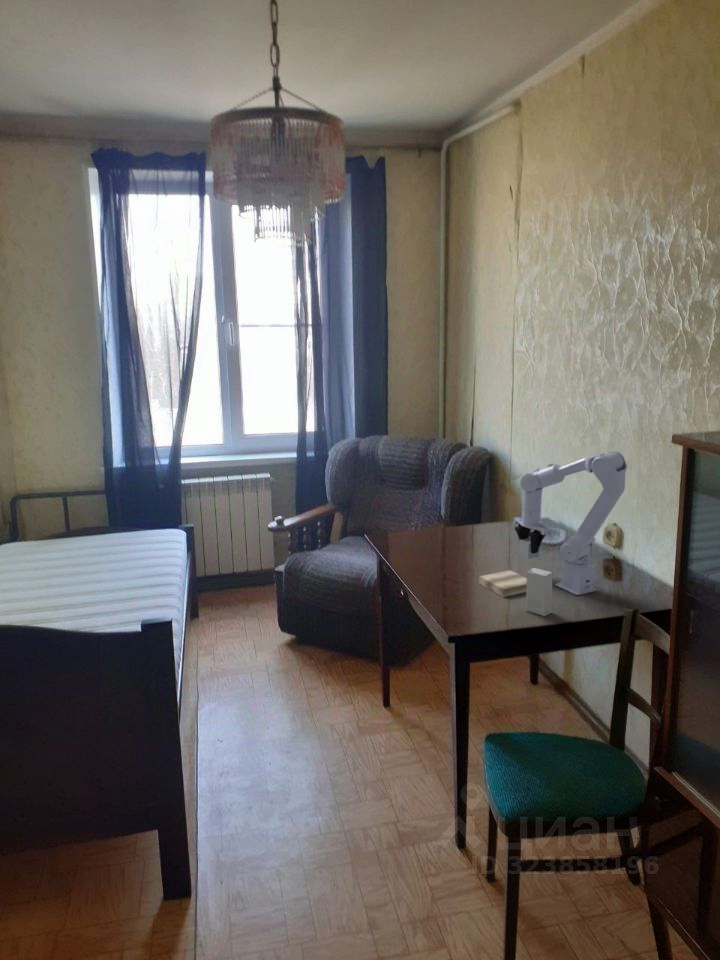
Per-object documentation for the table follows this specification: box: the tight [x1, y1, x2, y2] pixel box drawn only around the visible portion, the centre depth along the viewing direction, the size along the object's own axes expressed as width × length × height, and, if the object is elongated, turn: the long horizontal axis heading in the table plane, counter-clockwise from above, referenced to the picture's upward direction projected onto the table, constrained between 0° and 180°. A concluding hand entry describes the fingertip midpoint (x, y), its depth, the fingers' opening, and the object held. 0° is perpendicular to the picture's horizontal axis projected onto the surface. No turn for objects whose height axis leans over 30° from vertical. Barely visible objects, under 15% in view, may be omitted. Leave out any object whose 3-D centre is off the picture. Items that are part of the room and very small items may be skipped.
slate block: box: [518, 537, 541, 559], centre depth 222 cm, size 4×4×5 cm
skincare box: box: [525, 567, 554, 617], centre depth 195 cm, size 6×4×12 cm
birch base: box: [478, 569, 527, 598], centre depth 215 cm, size 12×12×2 cm
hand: (529, 550), depth 223 cm, fingers closed on slate block, 4 cm apart
